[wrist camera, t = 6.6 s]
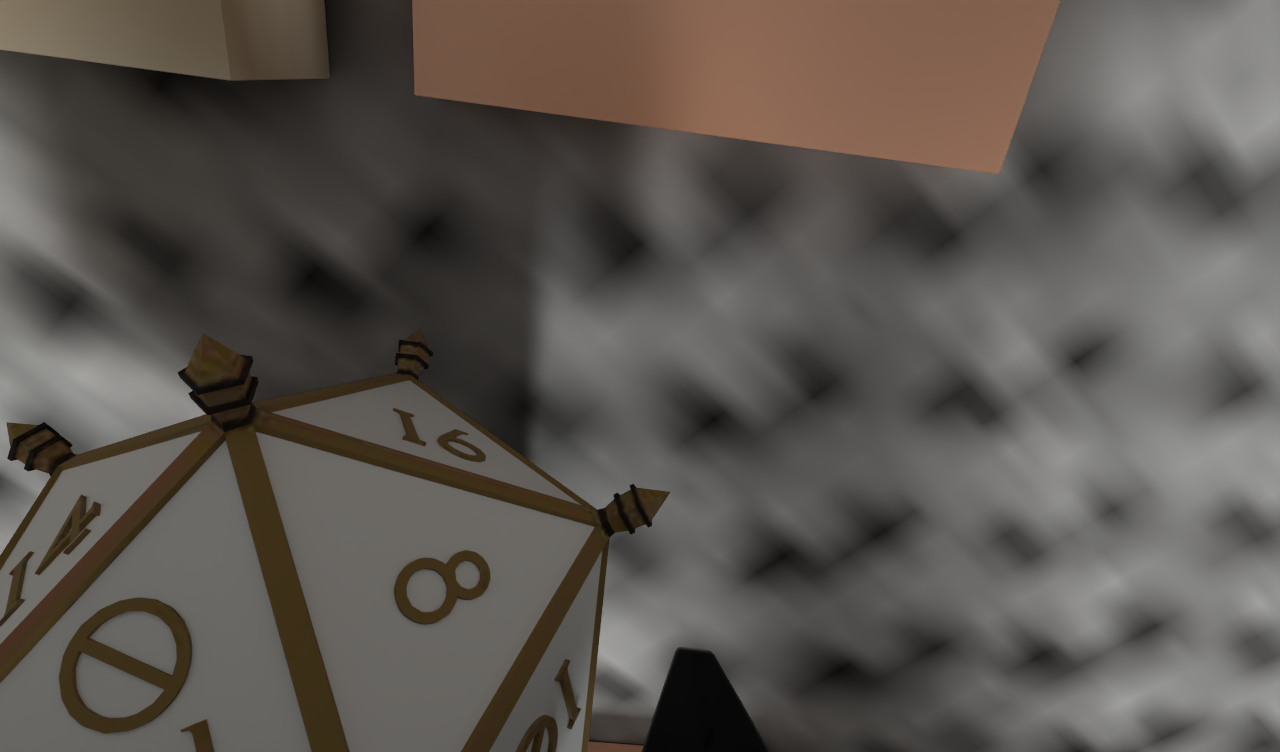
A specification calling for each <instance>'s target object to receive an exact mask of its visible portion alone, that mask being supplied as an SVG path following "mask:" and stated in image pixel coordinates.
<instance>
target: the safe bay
mask: <svg viewBox="0 0 1280 752" xmlns="http://www.w3.org/2000/svg"><path fill="white" fill-rule="evenodd" d="M0 50H7V51H15V52H22V53H30V54H37V55H45V56H52V57H60V58H67V59H74V60H82V61H89V62H97V63H104V64H112V65H119V66H126V67H134V68H141V69H149V70H156V71H164V72H171V73H178V74H186V75H193V76H201V77H208V78H216V79H223V80H231V81H235V80H281V79H327V78H330V71H329V57H328V43H327V30H326V16H325V2H324V0H0Z"/></svg>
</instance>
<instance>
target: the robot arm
mask: <svg viewBox="0 0 1280 752" xmlns="http://www.w3.org/2000/svg"><path fill="white" fill-rule="evenodd" d="M641 752H770V751H769V749H768V748H767V746H766V744H765V742H764V741H763V739H762V737H761V735H760V734H759V732H758V730H757V728H756V727H755V725H754V723H753V721H752V720H751V718H750V716H749V714H748V713H747V711H746V709H745V708H744V706H743V704H742V702H741V701H740V699H739V697H738V695H737V694H736V692H735V690H734V688H733V687H732V685H731V683H730V681H729V680H728V678H727V676H726V674H725V673H724V671H723V669H722V667H721V666H720V664H719V662H718V660H717V659H716V657H715V655H714V654H713V653H712V652H711V651H709V650H702V649H693V648H684V647H679V648H677V649H676V651H675V654H674V656H673V659H672V662H671V665H670V668H669V671H668V674H667V677H666V680H665V683H664V686H663V689H662V692H661V695H660V698H659V701H658V704H657V707H656V710H655V713H654V716H653V719H652V722H651V725H650V728H649V731H648V734H647V737H646V740H645V743H644V746H643V749H642V751H641Z"/></svg>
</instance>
